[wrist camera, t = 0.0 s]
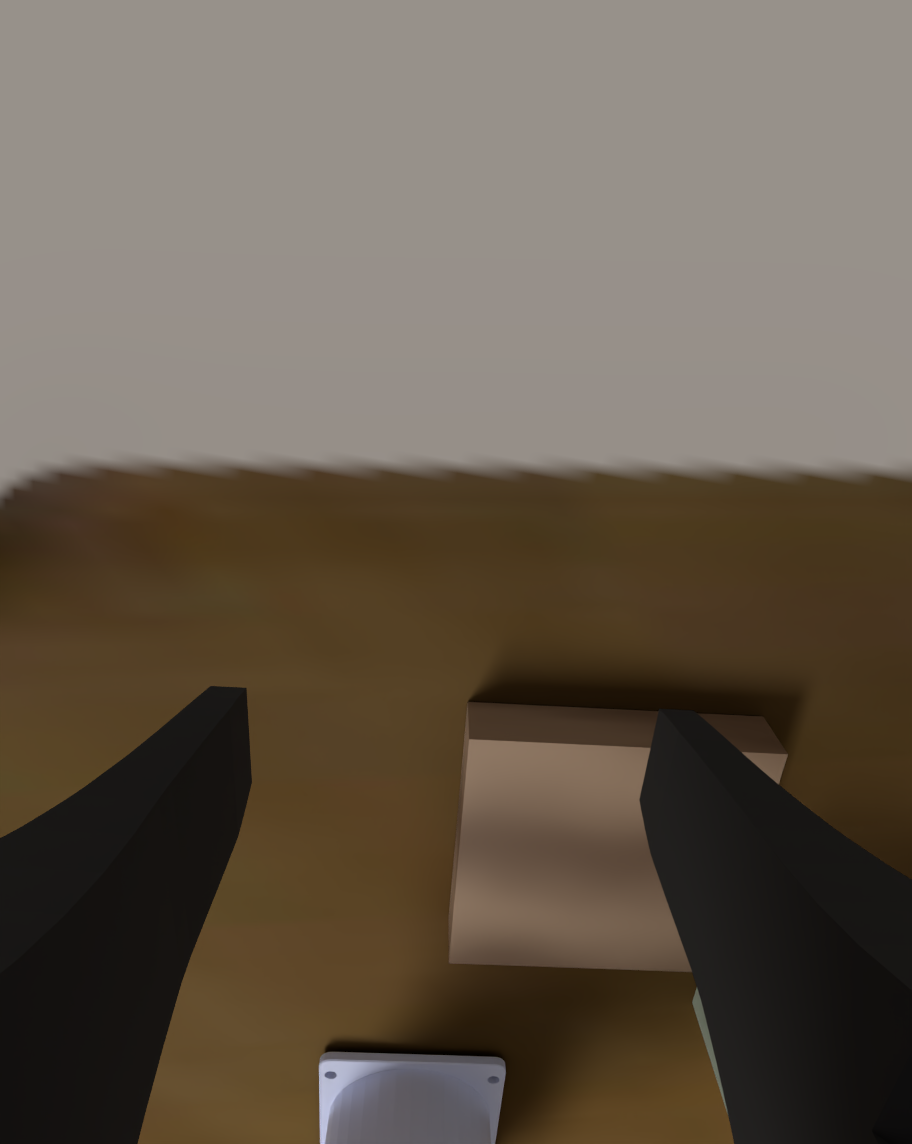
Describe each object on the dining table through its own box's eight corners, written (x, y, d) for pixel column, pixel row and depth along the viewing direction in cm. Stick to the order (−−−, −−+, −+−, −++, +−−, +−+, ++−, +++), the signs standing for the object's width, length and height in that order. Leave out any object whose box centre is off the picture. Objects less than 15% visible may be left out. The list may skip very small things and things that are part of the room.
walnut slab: (702, 926, 29) (719, 973, 27) (448, 917, 29) (448, 963, 27) (763, 716, 25) (788, 754, 23) (467, 702, 25) (469, 739, 23)
